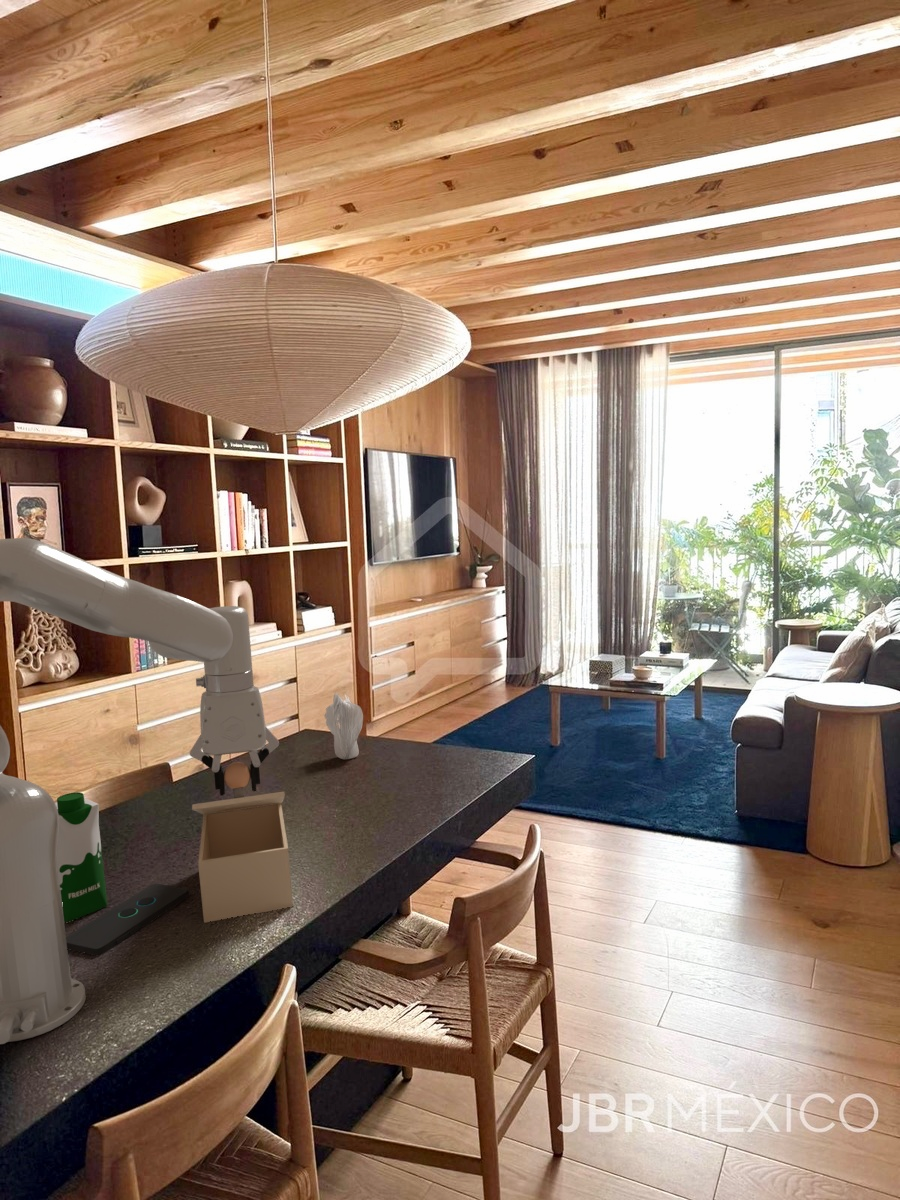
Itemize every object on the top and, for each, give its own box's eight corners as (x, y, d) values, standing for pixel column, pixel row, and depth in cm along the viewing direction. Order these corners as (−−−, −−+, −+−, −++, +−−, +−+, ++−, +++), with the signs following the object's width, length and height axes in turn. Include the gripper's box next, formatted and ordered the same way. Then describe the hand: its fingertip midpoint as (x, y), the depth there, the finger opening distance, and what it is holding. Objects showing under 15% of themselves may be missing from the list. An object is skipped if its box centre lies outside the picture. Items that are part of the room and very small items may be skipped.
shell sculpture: (352, 750, 219) (347, 685, 217) (367, 757, 212) (362, 690, 210) (324, 757, 214) (319, 691, 212) (339, 764, 207) (334, 695, 205)
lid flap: (284, 796, 131) (280, 754, 133) (192, 809, 128) (189, 766, 129) (282, 802, 152) (278, 766, 154) (202, 814, 149) (199, 777, 150)
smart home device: (190, 888, 138) (98, 948, 120) (191, 897, 139) (100, 959, 120) (153, 882, 142) (58, 939, 123) (154, 891, 142) (59, 950, 124)
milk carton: (63, 927, 130) (49, 807, 128) (38, 912, 135) (24, 797, 133) (115, 905, 136) (103, 791, 134) (89, 892, 142) (77, 782, 140)
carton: (293, 906, 132) (288, 848, 131) (204, 922, 129) (198, 862, 127) (285, 854, 153) (281, 803, 152) (208, 866, 150) (203, 814, 149)
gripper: (173, 692, 126) (183, 805, 128) (283, 681, 130) (291, 791, 132) (177, 683, 133) (186, 790, 135) (281, 673, 137) (289, 777, 139)
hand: (238, 789), depth 134 cm, fingers closed on lid flap, 4 cm apart
